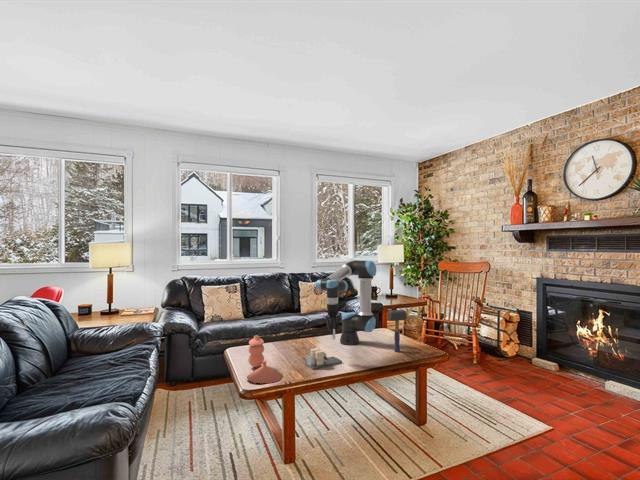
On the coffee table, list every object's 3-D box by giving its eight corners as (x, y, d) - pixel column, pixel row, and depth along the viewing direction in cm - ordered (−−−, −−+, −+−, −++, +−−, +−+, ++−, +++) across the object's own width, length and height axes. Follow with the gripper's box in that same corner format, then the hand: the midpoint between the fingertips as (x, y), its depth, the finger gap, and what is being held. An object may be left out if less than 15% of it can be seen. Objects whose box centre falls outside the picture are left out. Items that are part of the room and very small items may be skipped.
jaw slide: (318, 360, 225) (318, 352, 225) (322, 359, 226) (322, 351, 226) (325, 364, 218) (325, 355, 218) (329, 363, 219) (329, 354, 219)
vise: (305, 364, 222) (305, 353, 222) (333, 358, 234) (333, 348, 234) (313, 369, 214) (313, 358, 214) (342, 362, 225) (342, 352, 225)
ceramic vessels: (287, 379, 198) (287, 347, 198) (251, 386, 190) (251, 351, 190) (270, 360, 230) (270, 332, 230) (238, 365, 221) (238, 336, 221)
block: (310, 361, 223) (310, 349, 223) (317, 360, 226) (317, 348, 226) (316, 365, 216) (316, 352, 217) (323, 364, 219) (323, 351, 219)
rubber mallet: (402, 349, 252) (402, 308, 253) (407, 353, 245) (407, 310, 245) (386, 351, 249) (386, 309, 250) (391, 354, 242) (391, 311, 242)
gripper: (327, 305, 221) (328, 342, 222) (344, 303, 228) (344, 338, 228) (321, 303, 227) (321, 339, 228) (337, 301, 234) (338, 336, 235)
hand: (333, 339), depth 228 cm, fingers closed
